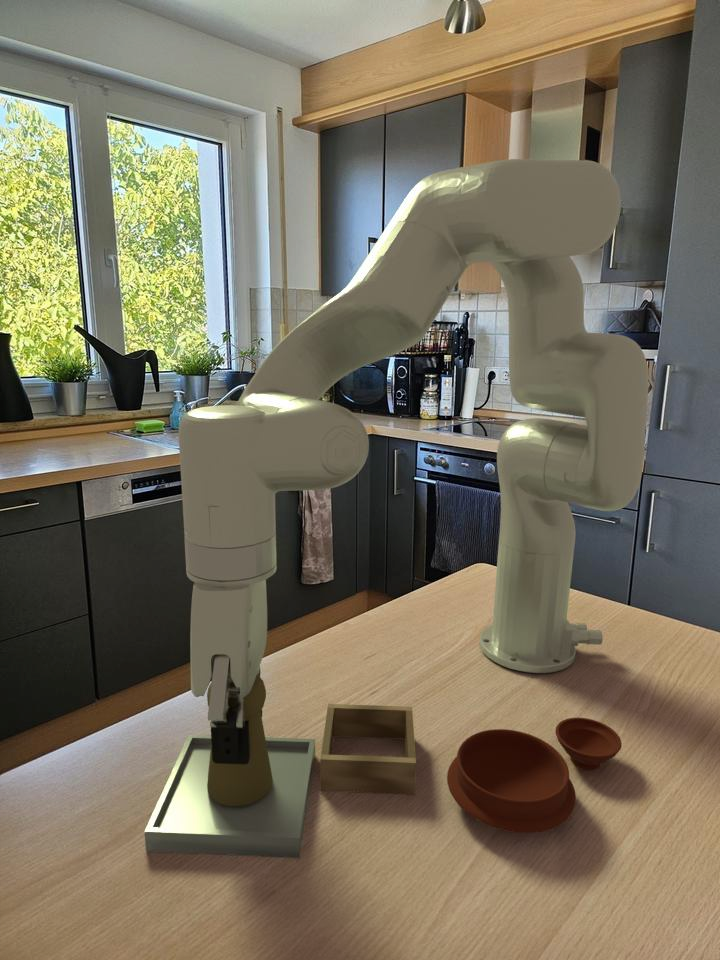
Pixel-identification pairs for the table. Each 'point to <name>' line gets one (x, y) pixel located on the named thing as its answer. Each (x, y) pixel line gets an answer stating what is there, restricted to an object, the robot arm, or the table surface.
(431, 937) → the table surface
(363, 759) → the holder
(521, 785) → the pottery
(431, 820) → the table surface
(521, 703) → the table surface
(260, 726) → the olive pawn
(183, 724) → the table surface
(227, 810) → the tray
